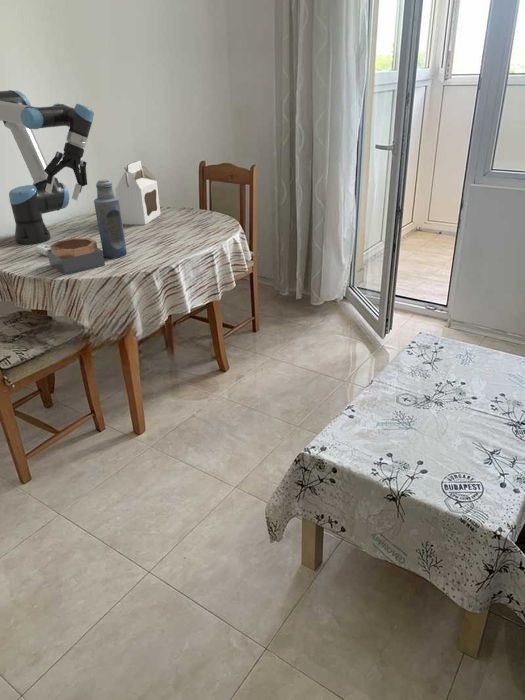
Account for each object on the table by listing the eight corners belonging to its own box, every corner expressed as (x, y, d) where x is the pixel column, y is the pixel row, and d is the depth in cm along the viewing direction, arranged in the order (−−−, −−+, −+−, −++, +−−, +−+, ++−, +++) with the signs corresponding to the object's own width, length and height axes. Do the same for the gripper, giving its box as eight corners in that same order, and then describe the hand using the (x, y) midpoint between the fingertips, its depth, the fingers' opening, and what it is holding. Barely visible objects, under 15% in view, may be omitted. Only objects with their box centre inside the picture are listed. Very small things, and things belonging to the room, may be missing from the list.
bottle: (109, 260, 213) (97, 183, 199) (99, 254, 220) (86, 180, 206) (131, 255, 218) (120, 180, 204) (120, 249, 225) (109, 177, 211)
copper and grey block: (50, 264, 210) (45, 243, 206) (88, 256, 218) (85, 236, 214) (65, 274, 198) (60, 252, 194) (105, 265, 207) (101, 244, 203)
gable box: (137, 213, 284) (130, 159, 271) (160, 214, 281) (154, 159, 268) (120, 224, 264) (111, 166, 251) (145, 225, 262) (137, 166, 249)
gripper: (56, 137, 202) (42, 191, 207) (104, 156, 224) (90, 204, 229) (43, 132, 205) (30, 186, 210) (92, 151, 227) (78, 199, 232)
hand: (61, 196), depth 219 cm, fingers open, 13 cm apart
